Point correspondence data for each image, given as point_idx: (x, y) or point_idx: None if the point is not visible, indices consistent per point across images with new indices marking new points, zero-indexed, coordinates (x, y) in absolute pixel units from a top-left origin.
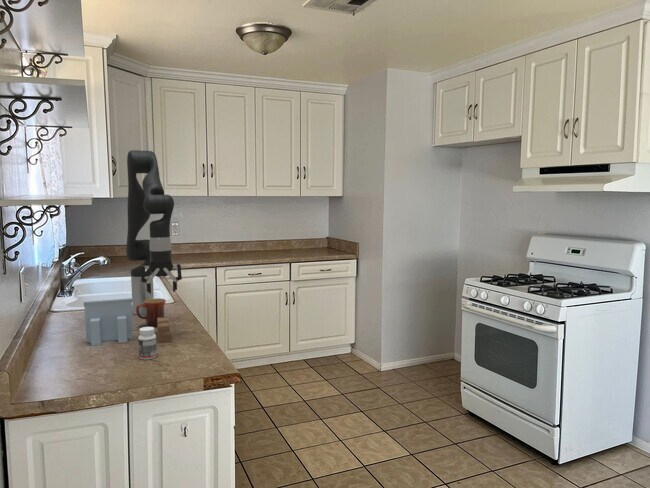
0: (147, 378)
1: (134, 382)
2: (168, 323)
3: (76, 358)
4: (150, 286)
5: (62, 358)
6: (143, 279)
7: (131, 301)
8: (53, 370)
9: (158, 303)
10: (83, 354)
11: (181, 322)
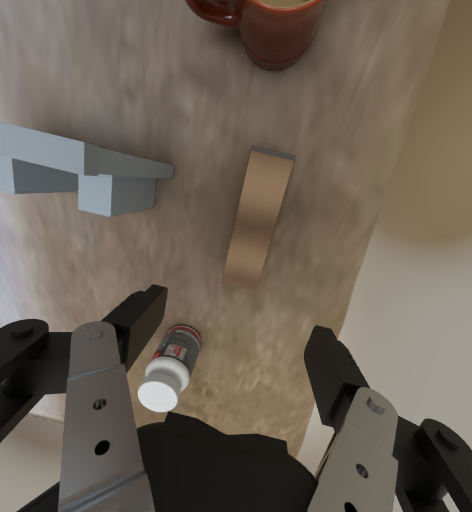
0: None
1: None
2: (264, 254)
3: (43, 267)
4: (136, 354)
5: (13, 250)
6: (20, 402)
7: (91, 174)
8: (13, 311)
9: (293, 12)
10: (53, 247)
11: (378, 51)
